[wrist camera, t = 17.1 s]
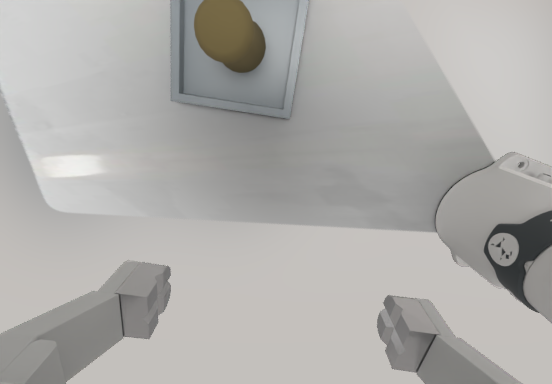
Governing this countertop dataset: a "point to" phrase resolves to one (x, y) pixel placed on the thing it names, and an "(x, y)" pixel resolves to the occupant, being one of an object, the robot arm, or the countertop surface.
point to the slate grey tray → (232, 85)
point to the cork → (229, 34)
